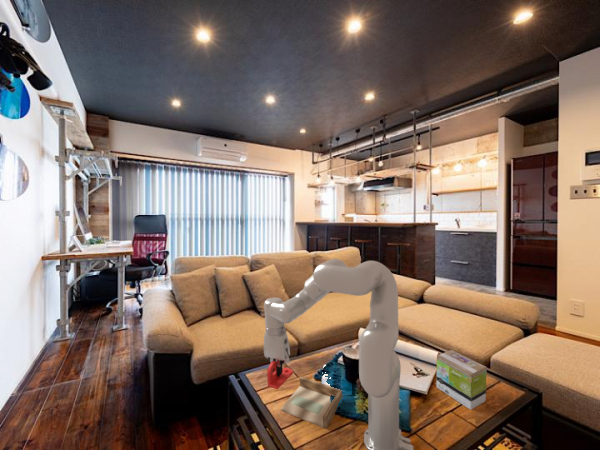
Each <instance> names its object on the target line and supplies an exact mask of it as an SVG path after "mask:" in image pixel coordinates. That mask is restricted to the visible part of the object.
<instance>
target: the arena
mask: <svg viewBox="0 0 600 450" xmlns="http://www.w3.org/2000/svg"><path fill="white" fill-rule="evenodd" d="M331 395H332V396H335V397H334V399H333V400H332V402H331V401H330V396H331ZM341 398H342V399H343V395H342V390H340V389H337V388H334V387H331V386H328V385H325V384H322V382H319V381H315V380H313V379H309V378H306V377H304V376H300V377H299V387H298V388H297V389H295V391H294V392H293V393H292V394H291V396H290V397H288V399H287V400H286V401H285V403H284V404H283V405H282V406H281V408H280V411H281V412H285V413H287V414H289V415H291V416H294V417H296V418H299V419H301V420H304V421H306V422H308V423H310V424H313V425H314V426H315V425H316V426H318V427H321V428H322V429H326V430H327V428H328V426H329V425H330V423H331V421H332V419H333V418H334V416H335V414H336V413H335V412H337V411H336V409H337V407H338V404H339V402H340V400H341ZM337 410H338V409H337Z"/></svg>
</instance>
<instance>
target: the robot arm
mask: <svg viewBox="0 0 600 450" xmlns="http://www.w3.org/2000/svg"><path fill="white" fill-rule="evenodd" d="M303 285H304V286H303V289H302V290H300V291H299V292H298V293H297V294H296V295H294V296H293V297H291V298H289V299H288V300H286V301H283V299H281V298H280V297H269V298H266V300H265V301H264V303H263V306H264V307H263V309H264V324H265V325H264V326H265V332H264V335H263V353H264V354H263V355H264V356H263V357H265V358H266V359H267V360H268V361H269V362H270V363H271V362H272V361H277V367H276V372H277V376H278V377H279V376H280V375H281V374H282V372H283V368H284V367H283V364H288V363H290V361H291V360H290V355H291V349H290V342H289V337H288V333H287V330H288V329H287V328H286V327H285V325H286V324H290V323H292V322H293V321H295V320H296V319H297V318H299V317H301V316H302V315H304V314H305V313H306V312H307V311H308V310H310V309H311V308H313V306H315V305H316V304H317V303H318V302H320V301H321V300H323V299H324V298H325V297H326V296H327V295H328V294H329V293H330V292H332V293H338V294H344V295H350V296H356V297H357V296H361V297H362V296H365V295H368V294H370V293H371V296H370V304H369V308H370V309H369V311H370V312H369V323H368V324H367V326H366V328H365V329H364V330H363V331H362V334H361V336H360V339H359V343H358V345H359V346H358V348H359V349H358V351H359V352H358V354H359V355H358V374H359V382H360V385H361V386H362V388H363V390H364V391H365V392H366V394H368V395H367V396H368V397H367V398H368V399H367V401H368V404H367V405H368V408H367V409H368V410H367V411H368V427H367V429H366V430H365V431H364V434H363V443H364V446H365V447H366V449H367V450H414V445H412V444H411V438H408V437H405V436H404V435H402V429H401V428H400V384H401V383H400V382H401V360H400V357H399V355H398V353H396V351H395V350H394V349H395V348H396V345H397V343H398V340H399V291H398V285H397V281H396V279H395V276H394V274H393V273H392V272H391V270H390V269H389V268H388V267H387V266H386V265H384V264H383V263H381V262H379V261H377V260H367V261H364V262H362V263H360V264H358V265H357V266H355V267H352V266H347V264H346V263H345V261H343V260H341V259H339V258H331V259H328V260H327V261H324V262H321V263H320V264H318V265H317V266H316V267H315V268H314V271H313V274H312V275H311V276H309V277H308V278H307V279H306V280H305V282H304V284H303ZM273 372H274V369H273Z"/></svg>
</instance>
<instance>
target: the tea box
mask: <svg viewBox="0 0 600 450" xmlns="http://www.w3.org/2000/svg"><path fill="white" fill-rule="evenodd" d="M487 368H488V367H487V366H485V365H484V364H482V363H480V362H477V361H475V360H474V359H471V358H469V357H468V356H465V355H463V354H461V353H458V352H457V351H455V350H453V349H450V350H448V351H445V352H443V353H440V354H438V355H437V356H436V388H437V389H439V391H442V392H443V393H445V394H446V395H447V396H449V397H451V398H453V400H455V401H456V402H458V403H460V404H461V405H463V406H464V407H465V408H467V409H468V410H470V411H471V410H474V409H475V408H476V407H478V406H480V405H481V404H483V403H485V402H486V397H487V396H486V395H487V374H488V373H487Z"/></svg>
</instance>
